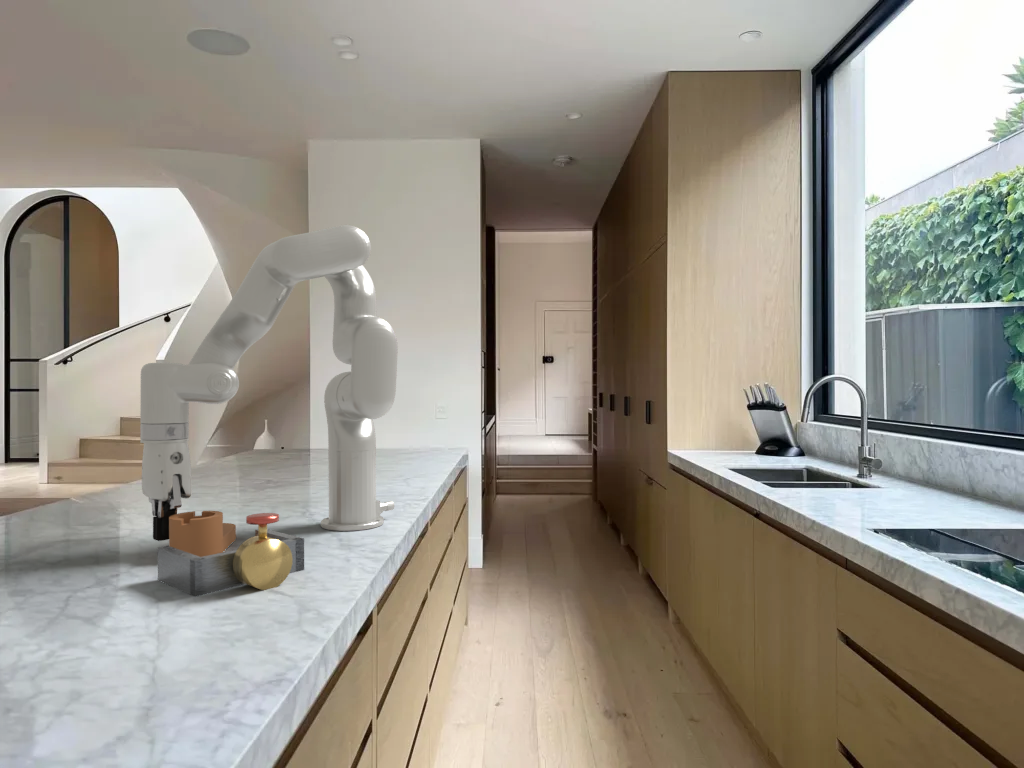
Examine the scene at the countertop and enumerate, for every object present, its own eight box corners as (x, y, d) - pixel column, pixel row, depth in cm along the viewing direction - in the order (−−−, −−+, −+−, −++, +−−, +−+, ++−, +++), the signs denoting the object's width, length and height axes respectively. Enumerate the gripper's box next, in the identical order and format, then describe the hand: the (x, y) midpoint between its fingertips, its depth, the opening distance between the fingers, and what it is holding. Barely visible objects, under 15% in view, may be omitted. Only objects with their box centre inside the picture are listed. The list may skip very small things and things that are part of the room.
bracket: (216, 560, 112) (215, 519, 112) (162, 563, 111) (162, 521, 111) (240, 536, 130) (240, 500, 130) (194, 538, 128) (193, 502, 128)
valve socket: (263, 558, 113) (263, 497, 113) (322, 576, 102) (322, 508, 102) (157, 581, 100) (157, 512, 100) (212, 604, 89) (211, 527, 89)
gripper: (206, 434, 116) (205, 541, 116) (168, 430, 125) (168, 529, 125) (160, 437, 110) (159, 549, 110) (125, 432, 120) (124, 536, 120)
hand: (164, 538), depth 118 cm, fingers closed
